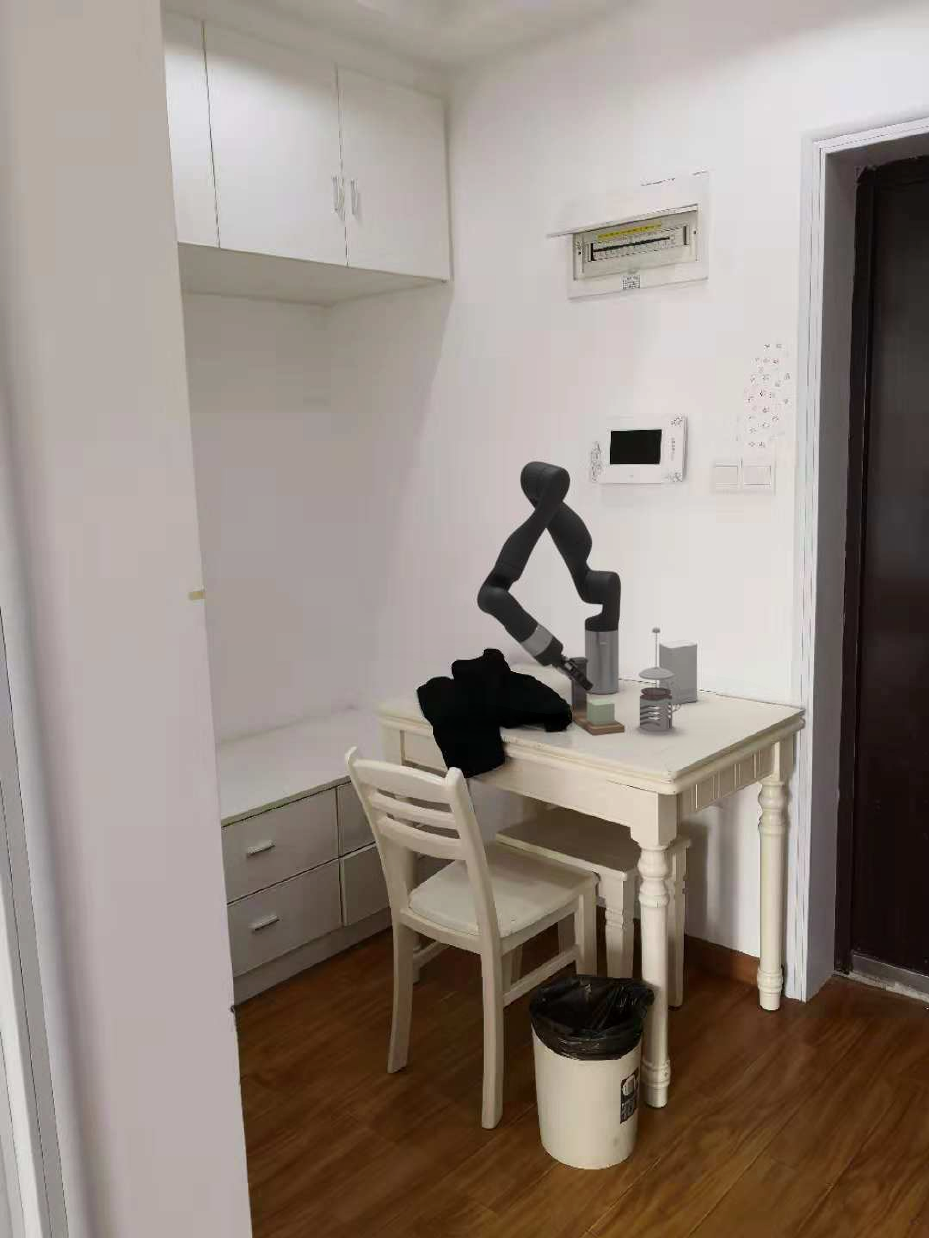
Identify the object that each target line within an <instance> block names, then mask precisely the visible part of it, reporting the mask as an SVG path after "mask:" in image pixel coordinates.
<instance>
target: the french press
mask: <svg viewBox="0 0 929 1238" xmlns="http://www.w3.org/2000/svg"><path fill="white" fill-rule="evenodd" d="M652 633H653V634H655V666H654V667H649V668H646V669H644V670H642V671H641V672H639V673H638V676H639V678H641V679H644V680H649V681H655V684H657V681H659V680H665V679H670V678H672V677H673V673H672V672H670V671H669V670H667V669H664V668H659V666H657V648H658V647H657V640H658V639H657V637H658V636H657V635H658V634H659V633H661V629H660V627H657V626H656V627H653V629H652ZM673 683H674V684H676V683H675V682H672V683H671V684H670V683H668V684H667V686H668V688H669V689H667V688H660V687H659V686H650V687H648V686H647V687H644V688H642V689H641V690H640V692H641V695H640V696H639V725H638V726H637V727H636V729H635V731H637V732H638V733H641V734H644V735H649V736H665V735H670V734H673V733H675V732H676V731H677V729H676V727H674V726H673V713H675V712H677V711H679V710H680V708H681V706H682V704H683V703H682V692H681V689H680V687H679V686H678V685H677V684H676V685H677V687H678V688H679V690H680V693H681V704H678V693H677V691H676V689H675V688H674V686H673V685H672V684H673ZM669 684H670V685H671V687H673V688H674V689H675V691H676V693H677V704H676V706H675V708H674V709H673V705H672V703H673V697H672V696H671V695H669V694H670V693H671V690H670V688H671V687H669ZM663 699H670V700H671V703H670V702H669V700H666V701H661V700H663ZM656 713H657V714H656ZM655 718H657V719H655Z"/></svg>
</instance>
